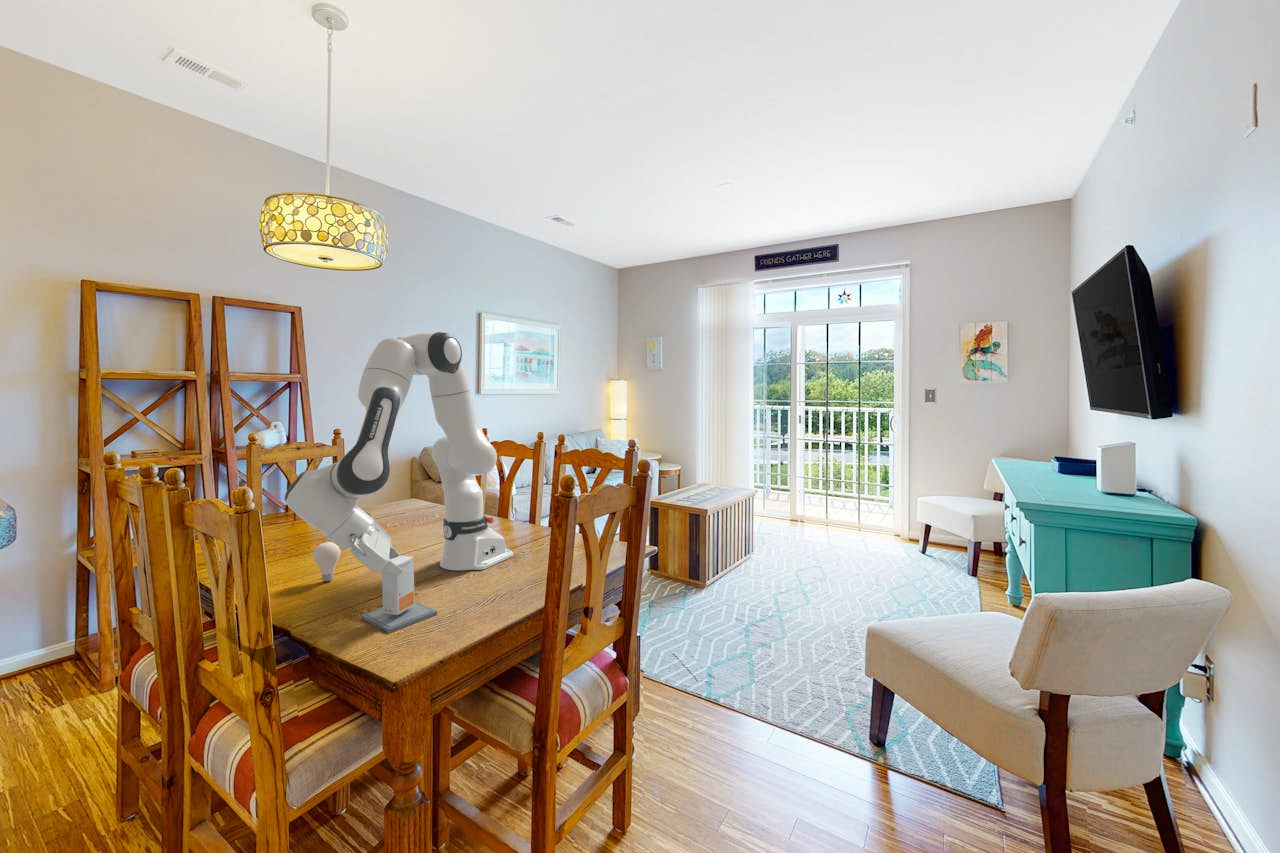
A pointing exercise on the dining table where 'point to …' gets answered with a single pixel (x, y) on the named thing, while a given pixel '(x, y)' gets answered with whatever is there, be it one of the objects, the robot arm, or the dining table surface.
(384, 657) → the dining table surface
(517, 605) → the dining table surface
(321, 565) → the light bulb
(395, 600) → the skincare box
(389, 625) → the plate
